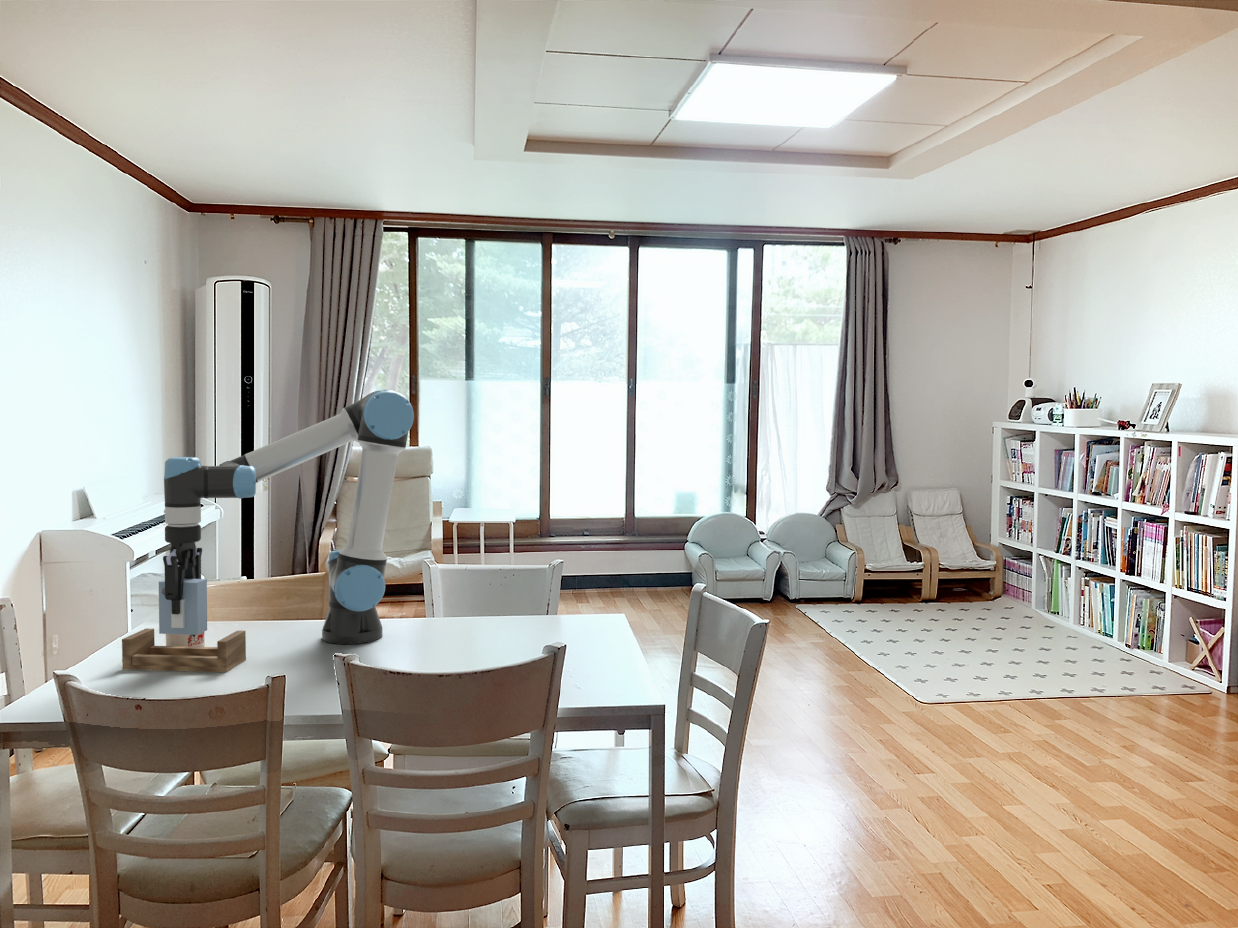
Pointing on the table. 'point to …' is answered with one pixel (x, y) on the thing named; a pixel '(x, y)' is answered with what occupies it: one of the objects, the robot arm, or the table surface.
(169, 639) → the teacup with lid
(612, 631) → the table surface
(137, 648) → the track
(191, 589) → the blue box with knob
